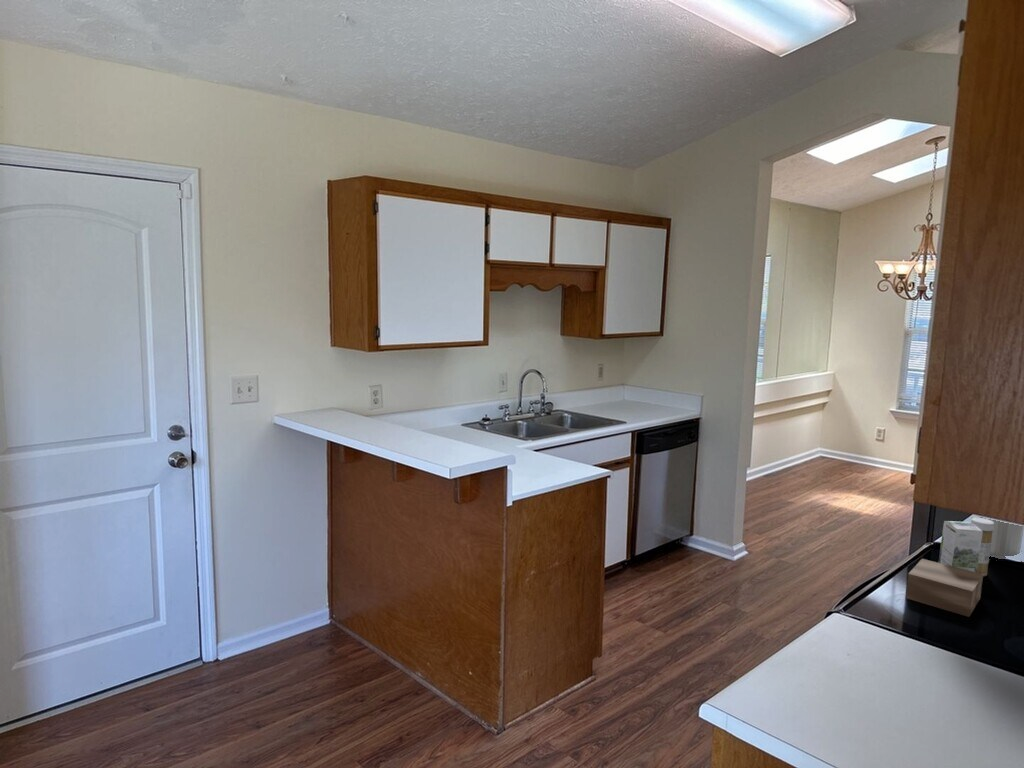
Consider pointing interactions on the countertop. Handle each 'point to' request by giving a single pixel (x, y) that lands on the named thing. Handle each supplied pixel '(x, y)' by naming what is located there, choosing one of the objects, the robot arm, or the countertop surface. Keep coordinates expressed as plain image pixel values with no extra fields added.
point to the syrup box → (960, 545)
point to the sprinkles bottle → (984, 543)
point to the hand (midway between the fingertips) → (970, 468)
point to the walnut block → (944, 587)
